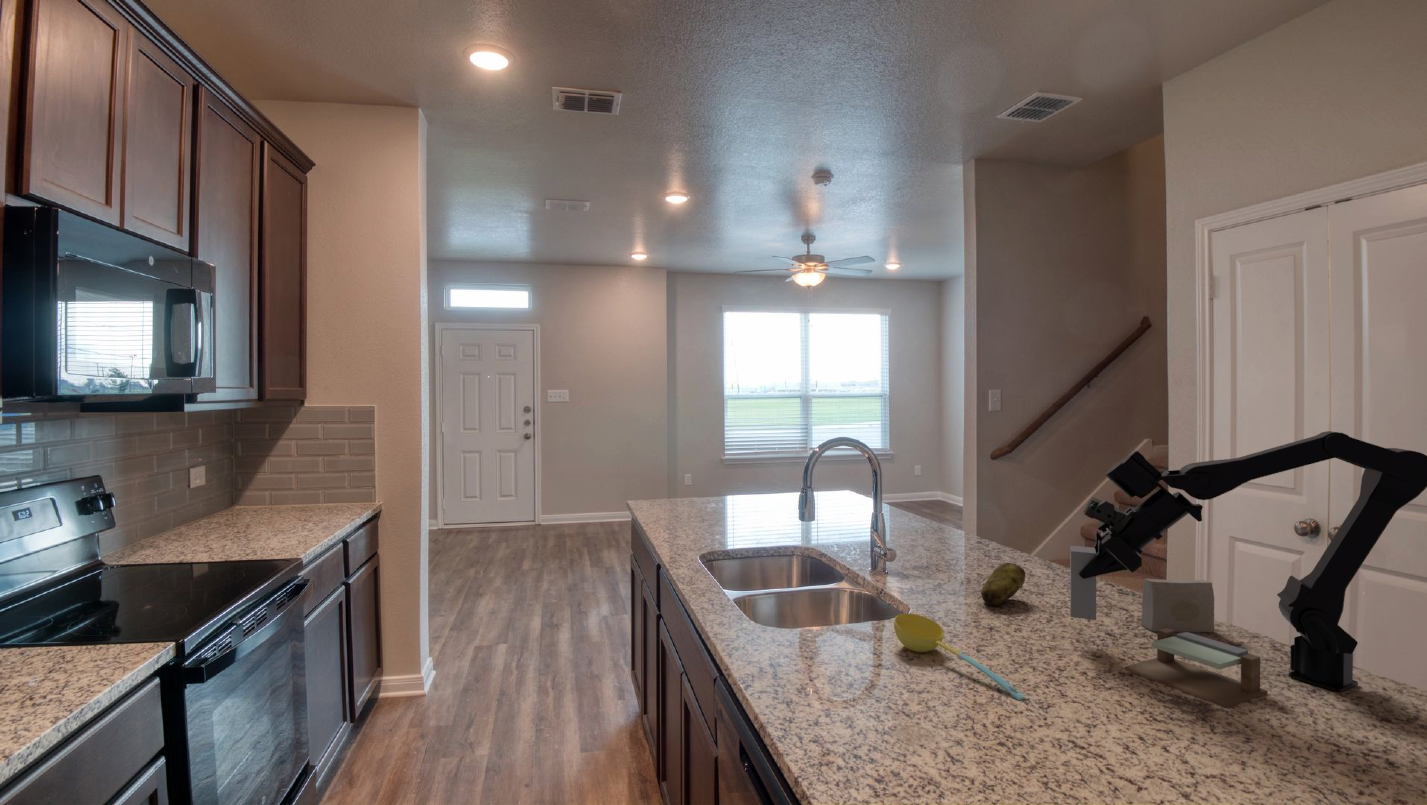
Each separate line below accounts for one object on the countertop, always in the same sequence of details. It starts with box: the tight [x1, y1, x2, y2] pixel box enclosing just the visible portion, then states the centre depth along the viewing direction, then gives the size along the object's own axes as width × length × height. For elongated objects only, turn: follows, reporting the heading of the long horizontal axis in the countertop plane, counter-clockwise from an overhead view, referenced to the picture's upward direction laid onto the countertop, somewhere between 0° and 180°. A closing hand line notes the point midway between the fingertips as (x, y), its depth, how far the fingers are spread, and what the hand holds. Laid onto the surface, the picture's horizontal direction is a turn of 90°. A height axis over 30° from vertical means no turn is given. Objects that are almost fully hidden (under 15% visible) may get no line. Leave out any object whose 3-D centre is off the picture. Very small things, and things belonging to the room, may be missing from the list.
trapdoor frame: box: [1124, 628, 1268, 709], centre depth 105 cm, size 15×11×6 cm
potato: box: [980, 562, 1026, 606], centre depth 145 cm, size 8×13×8 cm, turn 112°
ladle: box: [893, 613, 1026, 702], centre depth 111 cm, size 9×26×6 cm, turn 26°
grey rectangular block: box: [1069, 545, 1097, 621], centre depth 121 cm, size 4×5×12 cm
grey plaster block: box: [1140, 578, 1215, 633], centre depth 128 cm, size 12×4×10 cm, turn 89°
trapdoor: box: [1151, 632, 1249, 670], centre depth 106 cm, size 10×9×2 cm
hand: (1080, 572), depth 121 cm, fingers closed on grey rectangular block, 5 cm apart
